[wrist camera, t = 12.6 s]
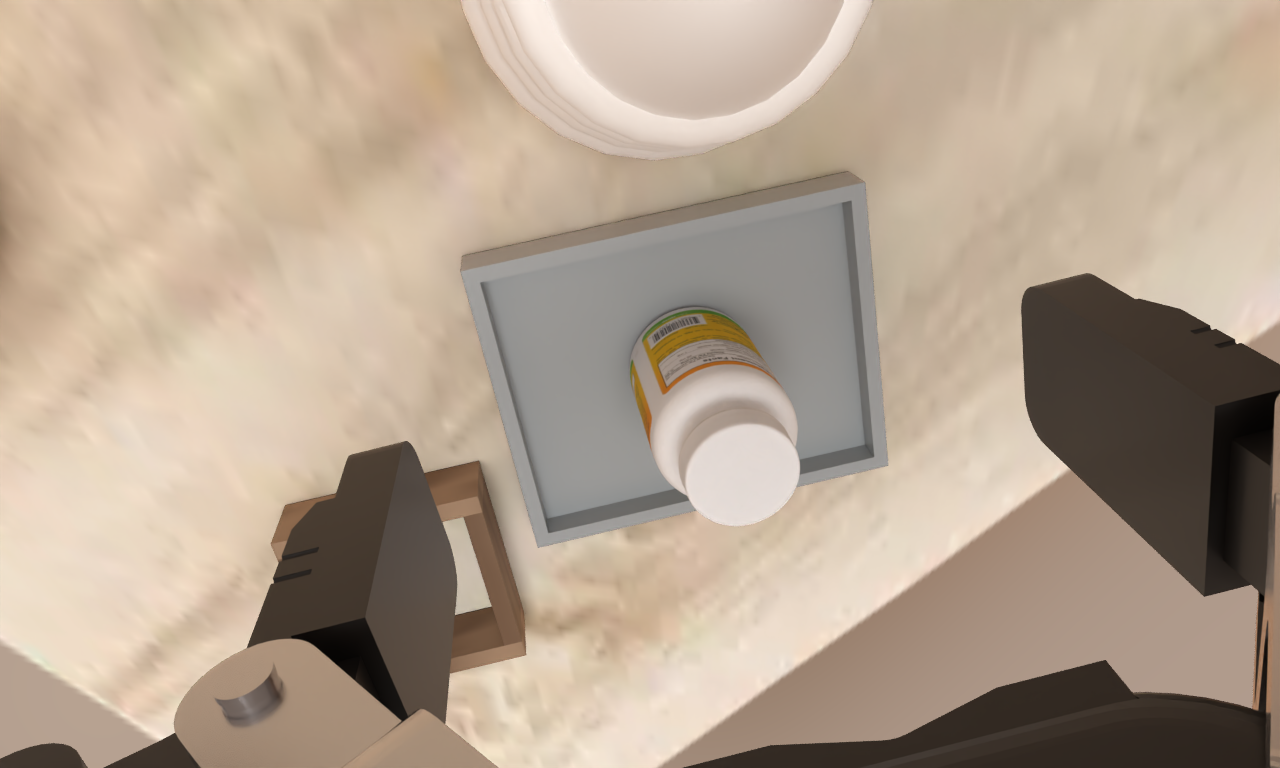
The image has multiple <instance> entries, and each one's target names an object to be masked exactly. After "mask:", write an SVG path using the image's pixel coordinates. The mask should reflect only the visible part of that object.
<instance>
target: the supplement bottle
mask: <svg viewBox="0 0 1280 768" xmlns="http://www.w3.org/2000/svg"><path fill="white" fill-rule="evenodd" d="M629 374H630V381H631V386H632V390H633V393H634V396H635V399H636V402H637V405H638V409H639V412H640V415H641V418H642V422H643V425H644V428H645V432H646V435H647V438H648V441H649V444H650V448H651V451H652V454H653V457H654V459H655V461H656V464H657V466H658V468H659V470H660V472H661V473H662V475H663V476H664V477H665V479H666V480H667V481H668V482H669V483H670V484H671V485H672V486H673V487H674V488H675V489H677V490H678V491H680V492H681V493H683V494H685V495H686V496H688V498H689V501H690V502H691V504H692V506H693V507H694V508H695V509H696V510H697V511H698V512H699V513H700V514H701V515H702V516H704V517H705V518H707V519H709V520H711V521H713V522H715V523H718V524H722V525H727V526H744V525H750V524H754V523H757V522H760V521H762V520H764V519H766V518H768V517H770V516H772V515H773V514H775V513H776V512H777V511H778V510H780V509H781V508H782V507H783V506H784V505H785V504H786V503H787V502H788V500H789V499H790V497H791V496H792V494H793V493H794V491H795V488H796V486H797V483H798V480H799V475H800V461H799V456H798V453H797V450H796V448H795V446H796V442H797V434H798V426H797V419H796V414H795V411H794V408H793V405H792V403H791V401H790V400H789V398H788V396H787V394H786V393H785V391H784V390H783V388H782V387H781V385H780V384H779V382H778V381H777V379H776V378H775V376H774V375H773V373H772V371H771V370H770V368H769V367H768V365H767V364H766V362H765V361H764V359H763V358H762V356H761V355H760V353H759V352H758V350H757V349H756V347H755V345H754V344H753V342H752V341H751V339H750V338H749V336H748V335H747V334H746V332H745V331H744V330H743V328H742V327H741V326H740V325H739V324H738V323H737V322H736V321H734V320H733V319H732V318H730V317H729V316H727V315H725V314H724V313H722V312H719V311H717V310H714V309H710V308H704V307H689V308H682V309H678V310H675V311H672V312H669V313H667V314H665V315H663V316H661V317H660V318H658V319H657V320H655V321H654V322H653V323H651V324H650V325H649V326H648V327H647V328H646V329H645V330H644V331H643V333H642V334H641V335H640V337H639V338H638V340H637V342H636V344H635V346H634V348H633V351H632V354H631V358H630V366H629Z"/></svg>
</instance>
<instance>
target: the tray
mask: <svg viewBox="0 0 1280 768" xmlns="http://www.w3.org/2000/svg"><path fill="white" fill-rule="evenodd" d="M461 275H462V279H463V282H464V286H465V289H466V293H467V296H468V300H469V304H470V307H471V311H472V314H473V318H474V321H475V325H476V329H477V332H478V336H479V339H480V343H481V346H482V350H483V354H484V357H485V361H486V364H487V368H488V371H489V375H490V379H491V382H492V386H493V389H494V393H495V396H496V400H497V403H498V407H499V411H500V414H501V418H502V421H503V425H504V428H505V432H506V436H507V439H508V443H509V446H510V450H511V453H512V457H513V461H514V464H515V468H516V471H517V475H518V478H519V482H520V486H521V489H522V493H523V496H524V500H525V503H526V507H527V511H528V514H529V518H530V521H531V525H532V528H533V532H534V535H535V539H536V543H537V546H538V548H539V547H543V546H548V545H552V544H556V543H561V542H565V541H569V540H573V539H578V538H582V537H586V536H590V535H595V534H599V533H603V532H607V531H612V530H616V529H620V528H625V527H629V526H633V525H637V524H642V523H646V522H650V521H654V520H659V519H663V518H667V517H671V516H676V515H680V514H684V513H689V512H693V511H697V510H696V509H695V508H694V507H693V506H692V504H691V502H690V501H689V498H688V496H686V495H685V494H683V493H681V492H680V491H678V490H677V489H675V488H674V487H673V486H672V485H671V484H670V483H669V482H668V481H667V480H666V479H665V477H664V476H663V475H662V473H661V472H660V470H659V468H658V466H657V464H656V461H655V459H654V457H653V454H652V451H651V448H650V444H649V441H648V438H647V435H646V432H645V428H644V425H643V422H642V418H641V415H640V412H639V409H638V405H637V402H636V399H635V396H634V393H633V390H632V386H631V381H630V374H629V366H630V358H631V354H632V351H633V348H634V346H635V344H636V342H637V340H638V338H639V337H640V335H641V334H642V333H643V331H644V330H645V329H646V328H647V327H648V326H649V325H650V324H651V323H653V322H654V321H655V320H657V319H658V318H660V317H661V316H663V315H665V314H667V313H669V312H672V311H675V310H678V309H682V308H689V307H704V308H710V309H714V310H717V311H719V312H722V313H724V314H725V315H727V316H729V317H730V318H732V319H733V320H734V321H736V322H737V323H738V324H739V325H740V326H741V327H742V328H743V330H744V331H745V332H746V334H747V335H748V336H749V338H750V339H751V341H752V342H753V344H754V345H755V347H756V349H757V350H758V352H759V353H760V355H761V356H762V358H763V359H764V361H765V362H766V364H767V365H768V367H769V368H770V370H771V371H772V373H773V375H774V376H775V378H776V379H777V381H778V382H779V384H780V385H781V387H782V388H783V390H784V391H785V393H786V394H787V396H788V398H789V400H790V401H791V403H792V405H793V408H794V411H795V414H796V419H797V426H798V434H797V442H796V446H795V448H796V450H797V453H798V456H799V461H800V475H799V480H798V483H797V486H796V487H799V486H804V485H808V484H812V483H817V482H821V481H825V480H829V479H834V478H838V477H842V476H846V475H851V474H855V473H859V472H863V471H868V470H872V469H876V468H880V467H885V466H888V455H887V443H886V430H885V418H884V406H883V394H882V382H881V370H880V357H879V345H878V333H877V321H876V309H875V296H874V284H873V272H872V260H871V248H870V235H869V223H868V211H867V199H866V187H865V182H864V181H862V180H861V179H859V178H858V177H856V176H855V175H853V174H852V173H850V172H848V171H847V172H843V173H838V174H834V175H829V176H824V177H820V178H815V179H811V180H806V181H802V182H797V183H793V184H788V185H783V186H779V187H774V188H770V189H765V190H761V191H756V192H752V193H747V194H742V195H738V196H733V197H729V198H724V199H720V200H715V201H711V202H706V203H701V204H697V205H692V206H688V207H683V208H679V209H674V210H670V211H665V212H660V213H656V214H651V215H647V216H642V217H638V218H633V219H629V220H624V221H620V222H615V223H610V224H606V225H601V226H597V227H592V228H588V229H583V230H579V231H574V232H569V233H565V234H560V235H556V236H551V237H547V238H542V239H538V240H533V241H528V242H524V243H519V244H515V245H510V246H506V247H501V248H497V249H492V250H487V251H483V252H478V253H474V254H469V255H465V256H462V262H461Z"/></svg>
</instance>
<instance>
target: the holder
mask: <svg viewBox="0 0 1280 768" xmlns="http://www.w3.org/2000/svg"><path fill="white" fill-rule="evenodd" d="M424 475H425V477H426V480H427V483H428V485H429V488H430V491H431V493H432V496H433V499H434V502H435V504H436V507H437V510H438V512H439V515H440V518H441V521H442V522H443V521H447V520H452V519H456V518H460V517H464V520H465V523H466V526H467V529H468V532H469V535H470V539H471V542H472V545H473V548H474V551H475V554H476V558H477V561H478V564H479V567H480V570H481V573H482V577H483V580H484V583H485V586H486V589H487V592H488V595H489V599H490V602H491V605H492V607H490V608H486V609H482V610H477V611H473V612H469V613H465V614H460V615H456V616H455V619H454V630H453V642H452V653H451V664H450V673H454V672H458V671H462V670H466V669H471V668H475V667H479V666H483V665H487V664H492V663H496V662H500V661H504V660H508V659H512V658H517V657H521V656H525V655H526V641H525V618H524V611H523V607H522V604H521V601H520V597H519V594H518V591H517V587H516V584H515V581H514V577H513V574H512V571H511V567H510V564H509V561H508V557H507V554H506V551H505V547H504V544H503V541H502V537H501V534H500V530H499V527H498V524H497V520H496V517H495V514H494V510H493V507H492V504H491V500H490V497H489V494H488V490H487V487H486V484H485V480H484V477H483V474H482V470H481V467H480V464H479V461H477V462H472V463H468V464H464V465H459V466H455V467H451V468H446V469H442V470H438V471H433V472H429V473H424ZM335 496H336V494H333V495H329V496H324V497H320V498H316V499H311V500H307V501H302V502H298V503H294V504H289V505H285V507H284V510H283V513H282V515H281V518H280V521H279V523H278V526H277V529H276V531H275V534H274V537H273V539H272V542H271V546H272V548H273V551H274V553H275V555H276V558H277V560H278V562H280V561H282V557H281V556H282V553H283V551H284V548H285V545H286V543H287V540H288V537H289V535H290V532H291V529H292V528H293V527H294V526H295V525H296V524H297V523H298V522H299V521H300V520H301V519H302V518H303V516H304V515H305V514H306V513H307V512H308V511H309V510H310V509H311V508H312V507H313V506H314V504H315V503H316V502H320V501H324V500H328V499H332V498H335Z"/></svg>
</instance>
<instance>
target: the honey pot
mask: <svg viewBox="0 0 1280 768" xmlns="http://www.w3.org/2000/svg"><path fill="white" fill-rule="evenodd" d="M872 2H873V0H461V5H462V10H463V12H464V15H465V17H466V19H467V21H468V24H469V26H470V28H471V30H472V33H473V35H474V37H475V39H476V42H477V44H478V46H479V49H480V51H481V53H482V55H483V58H484V60H485V62H486V63H487V64H488V66H489V67H490V68H491V69H492V71H493V72H494V73H495V75H496V76H497V77H498V78H499V80H500V81H501V82H502V84H503V85H504V86H505V87H506V89H507V90H508V91H509V93H510V94H511V95H512V96H513V98H514V99H515V100H516V101H517V103H518V104H519V105H521V106H522V107H523V108H524V109H526V110H527V111H528V112H530V113H531V114H532V115H534V116H535V117H536V118H537V119H539V120H540V121H541V122H543V123H544V124H545V125H547V126H548V127H549V128H550V129H552V130H553V131H554V132H556V133H557V134H558V135H560V136H563V137H565V138H567V139H570V140H572V141H575V142H577V143H579V144H582V145H584V146H587V147H589V148H591V149H594V150H596V151H599V152H601V153H603V154H608V155H616V156H623V157H631V158H639V159H647V160H662V159H669V158H676V157H683V156H690V155H698V154H704V153H706V152H709V151H711V150H713V149H716V148H718V147H720V146H723V145H725V144H728V143H731V142H735V141H737V140H739V139H742V138H744V137H746V136H749V135H751V134H754V133H756V132H758V131H761V130H763V129H765V128H768V127H770V126H773V125H775V124H777V123H778V122H780V121H781V120H782V119H784V118H785V117H786V116H788V115H789V114H790V113H792V112H793V111H794V110H796V109H797V108H798V107H799V106H801V105H802V104H803V103H805V102H806V101H807V100H809V99H810V98H811V97H813V96H814V95H815V94H816V93H817V92H818V91H819V90H820V88H821V87H822V86H823V85H824V84H825V82H826V81H827V80H828V79H829V77H830V76H831V75H832V74H833V72H834V71H835V70H836V69H837V68H838V66H839V65H840V64H841V63H842V61H843V60H844V59H845V58H846V56H847V55H848V54H849V52H850V50H851V48H852V46H853V44H854V42H855V39H856V37H857V35H858V33H859V31H860V29H861V27H862V25H863V23H864V21H865V19H866V17H867V15H868V13H869V11H870V9H871V7H872Z"/></svg>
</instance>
